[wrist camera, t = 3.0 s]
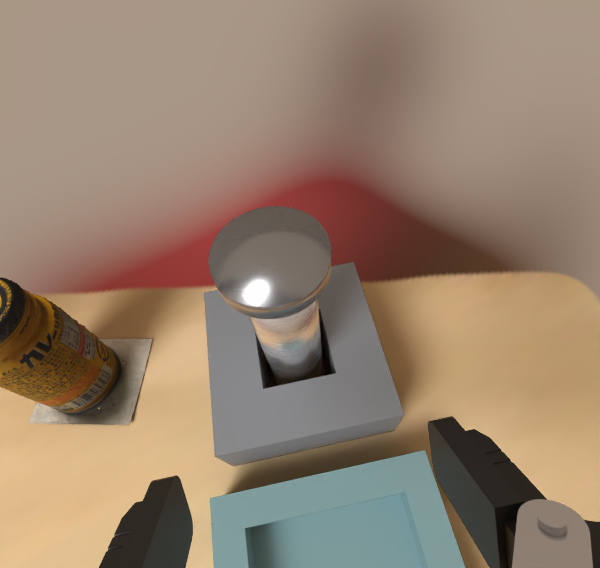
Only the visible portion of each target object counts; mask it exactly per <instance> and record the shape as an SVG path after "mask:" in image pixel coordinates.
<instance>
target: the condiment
mask: <svg viewBox="0 0 600 568" xmlns="http://www.w3.org/2000/svg"><path fill="white" fill-rule="evenodd" d="M151 343H152V339H132V338H130V339H98V338H97V337H96V336H95V335H94V334H93V333H90V332H89V331H88V330H87V329H86V328H85V326H83V325H81V324H79V323H78V322H77V321H76V320H74V319H72V318H71V317H70V316H69V315H67V314H66V313H65V312H64V311H63V310H62V309H61V308H59V307H57V306H56V305H55V304H53V303H52V302H50V301H48V300H47V299H46V298H43V297H41V296H38V295H34V294H31V293H29V292H28V291H26V290H23V289H22V288H20V286H19V285H18V284H17V283H14V282H12V281H10V280H8V279H5V278H0V387H2V388H5V389H7V390H9V391H12V392H14V393H16V394H19V395H21V396H24V397H27V398H29V399H31V400H34V401H36V402H37V403H36V405H35V408H34V410H33V412H32V415H31V418H30V420H29V423H45V424H102V425H113V424H118V425H130V422H131V418H132V414H133V412H134V409H135V405H136V402H137V397H138V394H139V391H140V387H141V383H142V379H143V375H144V373H145V367H146V363H147V359H148V356H149V351H150V347H151ZM121 359H123V361H121ZM124 361H125V362H126V365H125V364H124V363H123V362H124ZM98 407H99V408H100V409H98Z"/></svg>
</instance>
